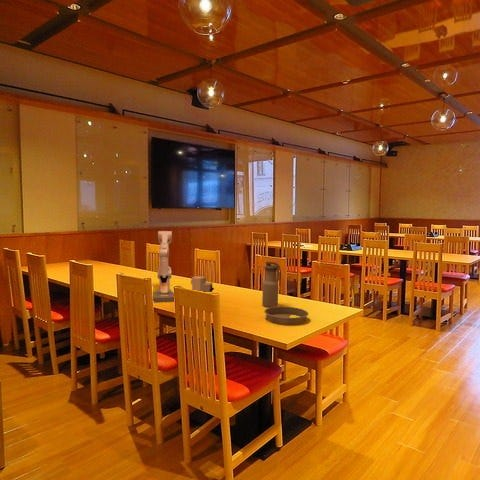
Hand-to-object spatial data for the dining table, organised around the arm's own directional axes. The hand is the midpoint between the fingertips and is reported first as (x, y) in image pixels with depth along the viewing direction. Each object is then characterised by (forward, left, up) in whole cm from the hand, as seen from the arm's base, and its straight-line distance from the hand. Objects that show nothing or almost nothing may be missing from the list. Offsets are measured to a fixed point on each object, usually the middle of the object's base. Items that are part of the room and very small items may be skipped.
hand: (163, 286), depth 272 cm
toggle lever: (+5, 0, -3) cm, 6 cm away
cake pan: (+65, +65, -8) cm, 93 cm away
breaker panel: (+7, 0, -7) cm, 10 cm away
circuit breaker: (+13, +25, -7) cm, 29 cm away
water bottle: (+35, +65, -7) cm, 74 cm away
